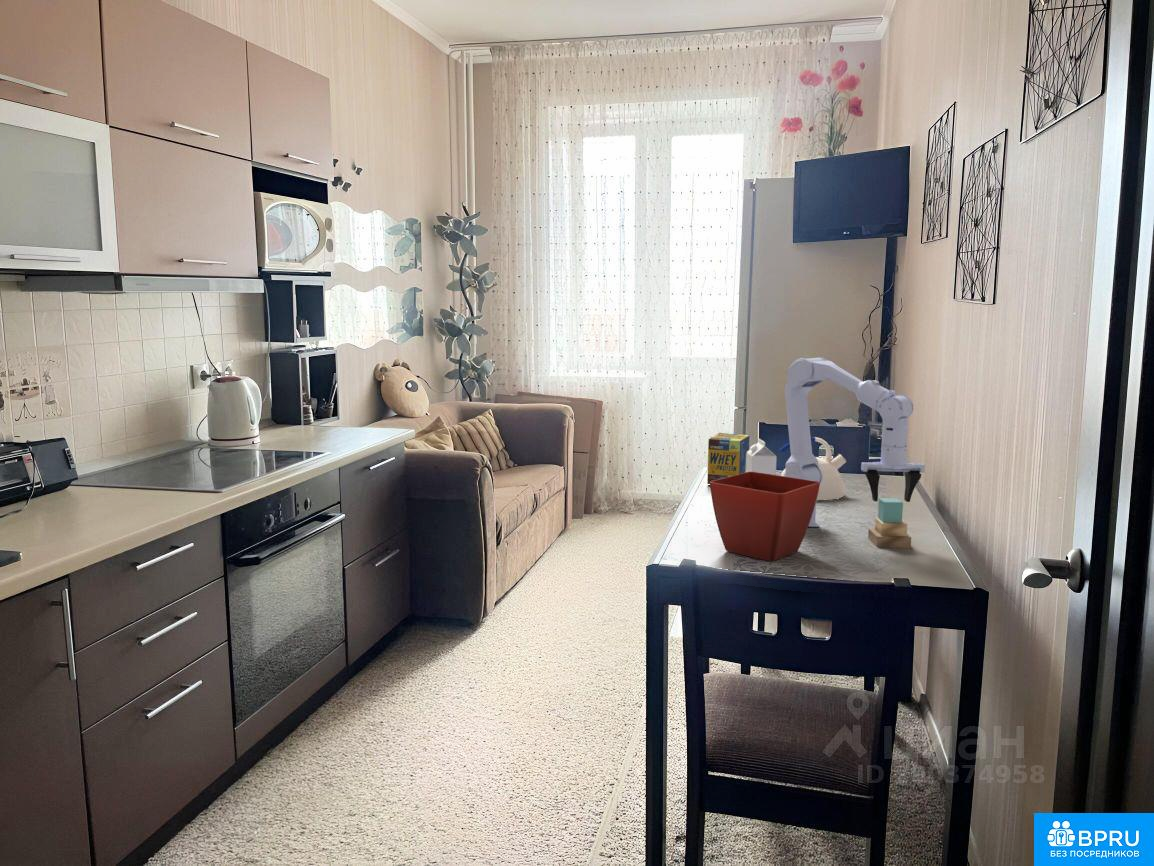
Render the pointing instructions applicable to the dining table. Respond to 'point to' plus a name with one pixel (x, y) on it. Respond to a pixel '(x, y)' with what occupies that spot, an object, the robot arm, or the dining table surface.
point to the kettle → (827, 473)
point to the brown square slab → (888, 540)
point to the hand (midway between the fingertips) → (891, 500)
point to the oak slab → (890, 528)
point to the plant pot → (763, 513)
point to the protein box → (727, 455)
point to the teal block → (890, 510)
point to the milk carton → (760, 459)
